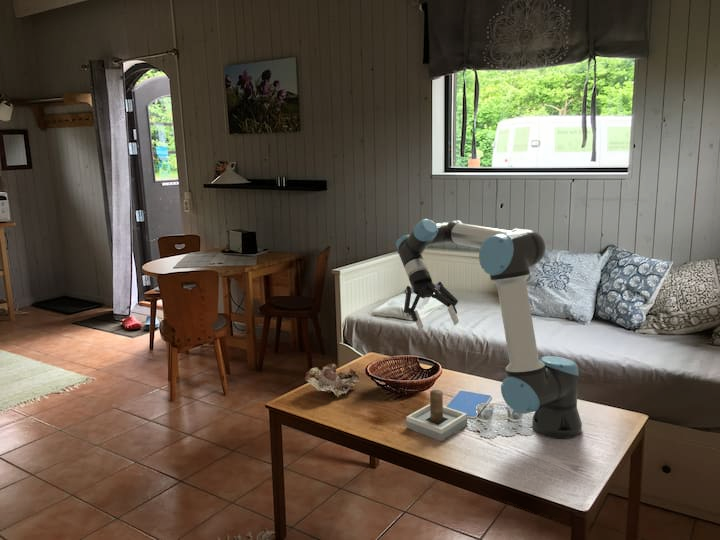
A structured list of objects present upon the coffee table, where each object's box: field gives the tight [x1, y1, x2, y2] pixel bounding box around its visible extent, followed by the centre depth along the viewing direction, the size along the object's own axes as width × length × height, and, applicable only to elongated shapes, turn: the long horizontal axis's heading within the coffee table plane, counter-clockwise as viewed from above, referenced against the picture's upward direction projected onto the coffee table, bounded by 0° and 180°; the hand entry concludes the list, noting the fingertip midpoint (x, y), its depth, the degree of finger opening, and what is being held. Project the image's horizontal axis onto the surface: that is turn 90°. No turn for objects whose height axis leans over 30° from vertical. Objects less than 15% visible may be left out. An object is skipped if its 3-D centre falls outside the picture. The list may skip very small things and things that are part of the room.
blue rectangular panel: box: [445, 390, 493, 419], centre depth 214 cm, size 19×13×1 cm, turn 151°
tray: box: [405, 403, 468, 442], centre depth 198 cm, size 14×14×4 cm
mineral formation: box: [304, 363, 360, 398], centre depth 229 cm, size 23×16×10 cm
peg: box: [429, 389, 444, 425], centre depth 198 cm, size 4×4×12 cm
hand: (439, 326), depth 207 cm, fingers open, 13 cm apart
